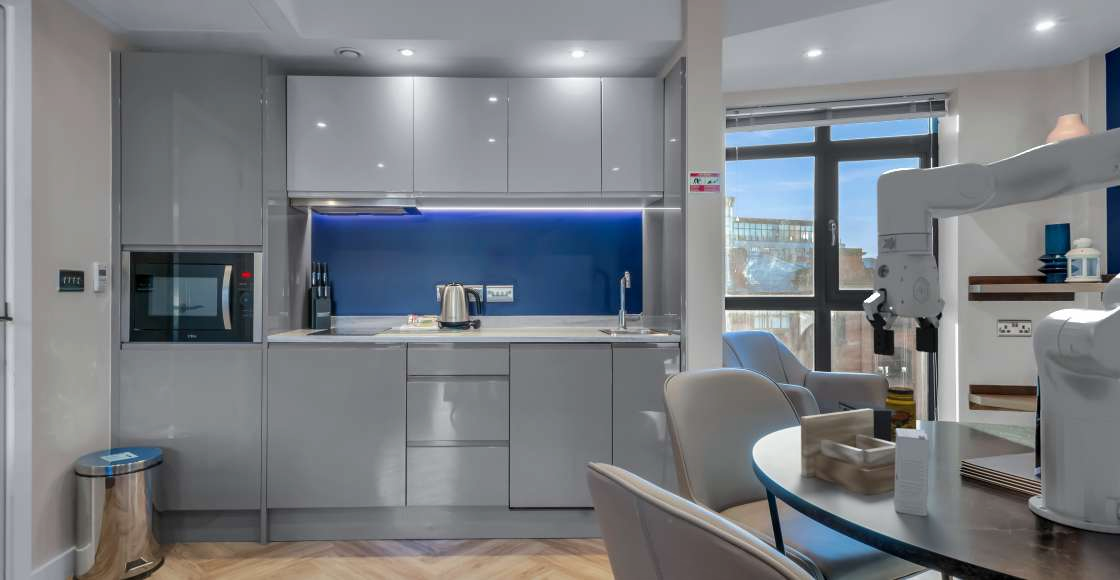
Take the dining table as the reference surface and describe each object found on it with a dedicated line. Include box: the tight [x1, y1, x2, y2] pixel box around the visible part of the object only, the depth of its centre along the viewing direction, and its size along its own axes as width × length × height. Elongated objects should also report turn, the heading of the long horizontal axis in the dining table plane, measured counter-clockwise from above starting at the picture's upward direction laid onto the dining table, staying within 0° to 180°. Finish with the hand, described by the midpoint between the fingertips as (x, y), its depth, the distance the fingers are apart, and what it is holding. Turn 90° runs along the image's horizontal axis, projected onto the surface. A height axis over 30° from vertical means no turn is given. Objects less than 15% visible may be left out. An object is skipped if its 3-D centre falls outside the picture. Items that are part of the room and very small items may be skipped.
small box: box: [838, 400, 892, 442], centre depth 120 cm, size 11×6×10 cm, turn 179°
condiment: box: [884, 386, 917, 443], centre depth 132 cm, size 7×8×12 cm
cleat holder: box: [800, 408, 896, 496], centre depth 105 cm, size 14×18×11 cm
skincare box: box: [893, 428, 930, 517], centre depth 90 cm, size 6×4×12 cm
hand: (905, 353), depth 91 cm, fingers open, 9 cm apart
